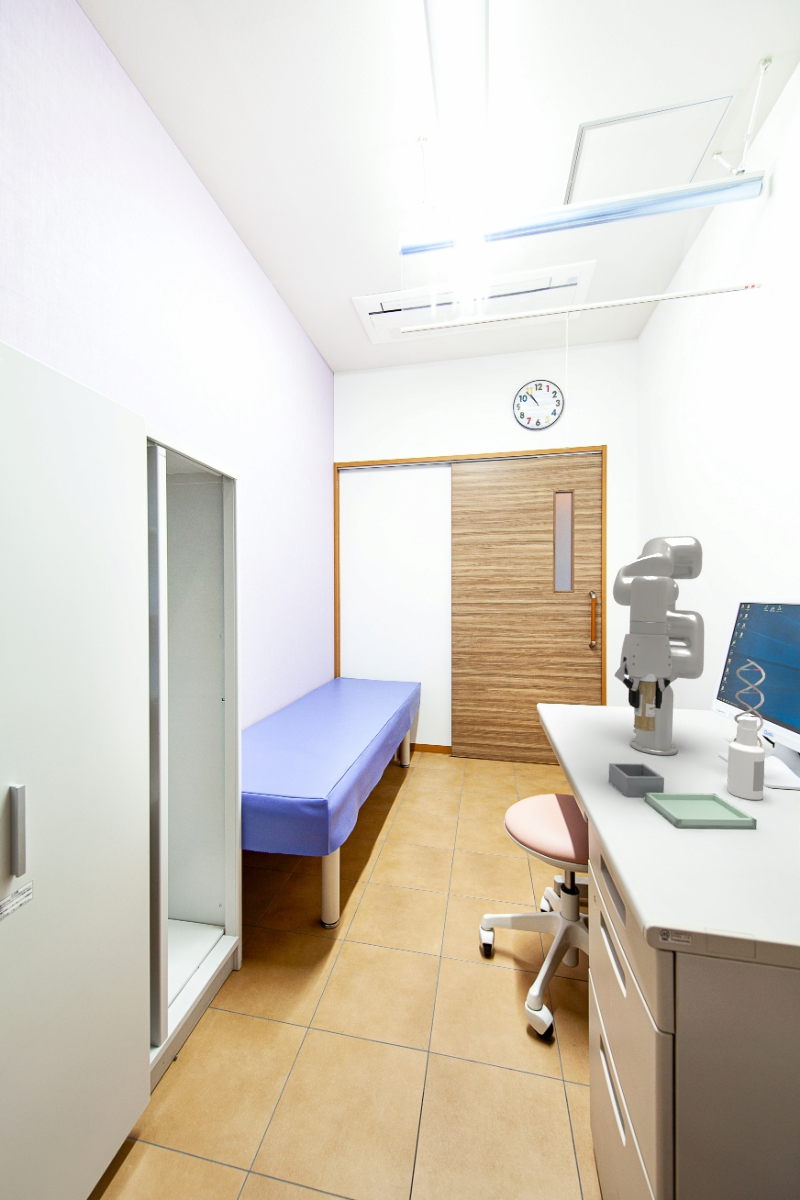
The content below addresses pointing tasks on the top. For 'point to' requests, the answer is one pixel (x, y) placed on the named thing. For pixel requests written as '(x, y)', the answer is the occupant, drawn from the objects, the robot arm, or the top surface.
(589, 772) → the top surface
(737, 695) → the dna model
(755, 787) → the white bottle
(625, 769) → the holder
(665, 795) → the tray
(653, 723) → the sprinkles bottle
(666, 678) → the robot arm
